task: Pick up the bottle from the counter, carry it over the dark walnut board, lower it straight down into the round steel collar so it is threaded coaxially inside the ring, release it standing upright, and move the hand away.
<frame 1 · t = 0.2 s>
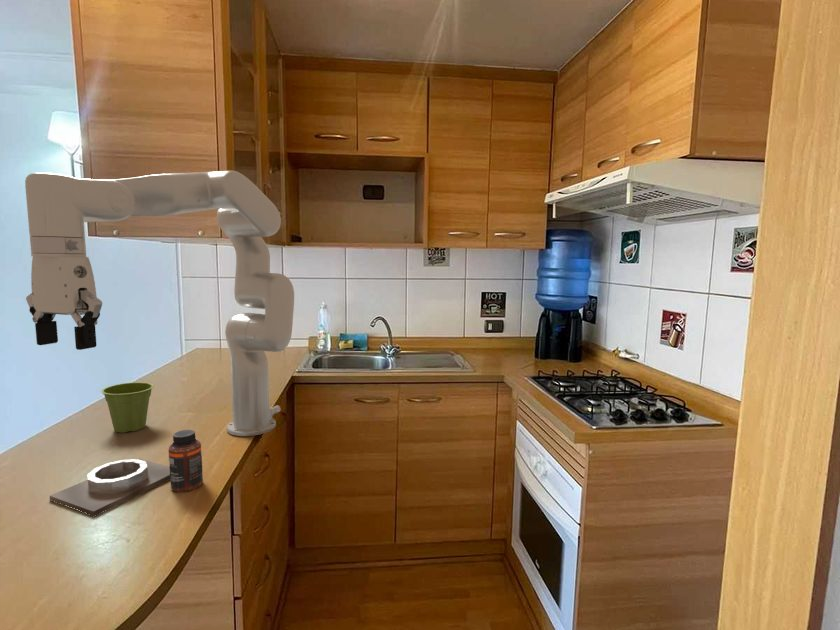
hand: (66, 346, 82), 31 cm above the countertop, tool pointing down, fingers open, 9 cm apart
plant pot: (130, 428, 125), on the countertop
supplement bottle: (187, 486, 95), on the countertop
holder board: (119, 486, 94), on the countertop
steel collar: (118, 476, 94), on the holder board, point 2 cm above the countertop
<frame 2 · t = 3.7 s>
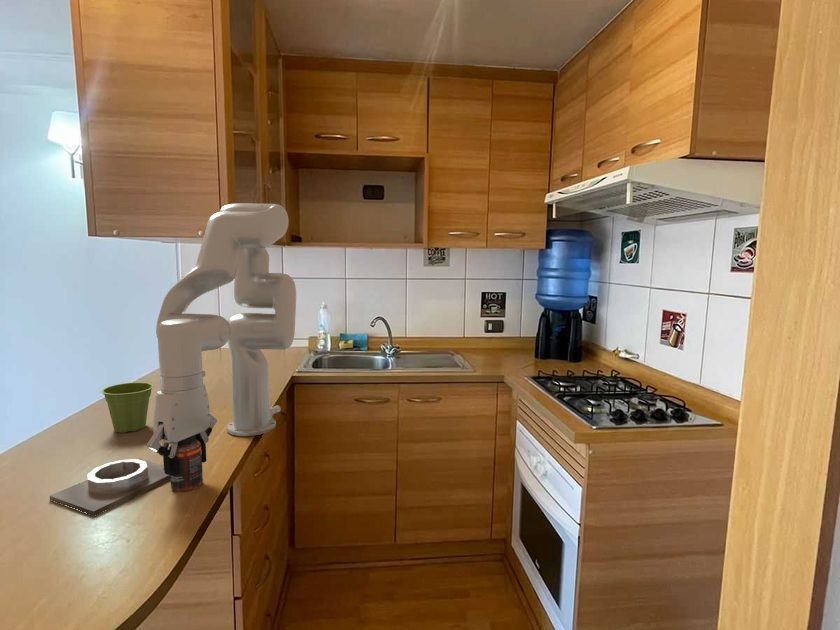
hand: (186, 466, 94), 4 cm above the countertop, tool pointing down, fingers closed on supplement bottle, 6 cm apart
supplement bottle: (187, 486, 95), on the countertop, touching gripper
everything else where it was.
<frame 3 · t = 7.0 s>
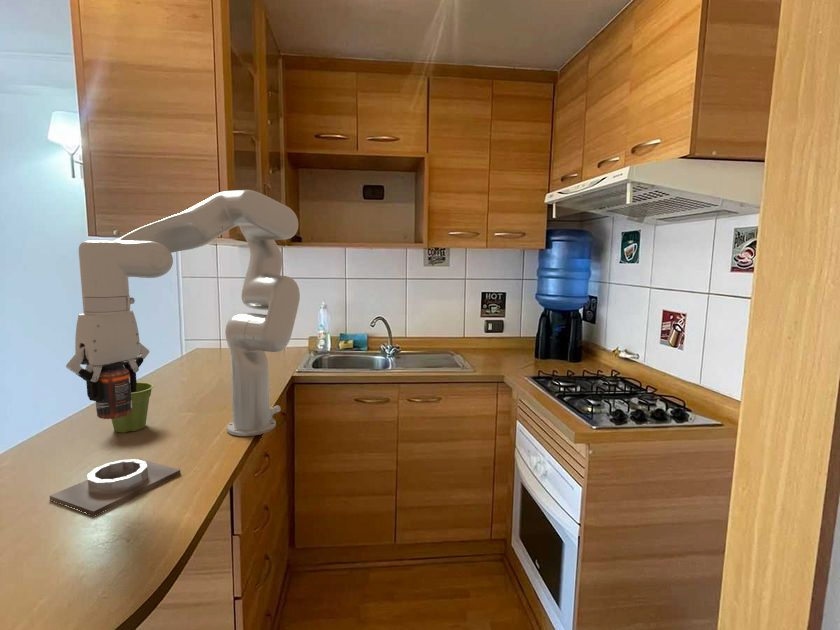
hand: (113, 395, 91), 19 cm above the countertop, tool pointing down, fingers closed on supplement bottle, 6 cm apart
supplement bottle: (115, 415, 92), point 15 cm above the countertop, touching gripper
everything else where it was.
when the fingers open (6 cm above the countertop, at t = 10.2 s): supplement bottle stays where it is, resting on holder board.
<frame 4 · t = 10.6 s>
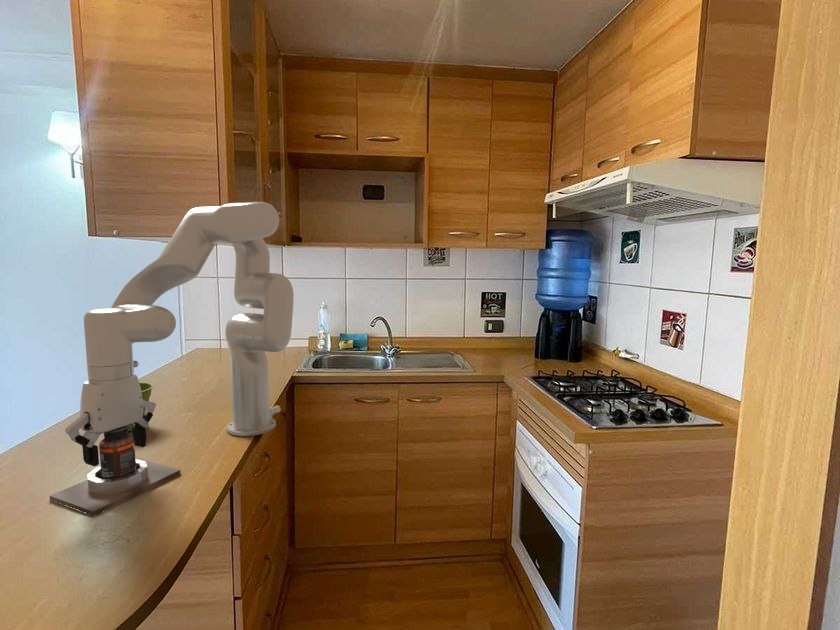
hand: (117, 454, 93), 7 cm above the countertop, tool pointing down, fingers open, 9 cm apart
supplement bottle: (119, 482, 94), point 1 cm above the countertop, touching holder board
everything else where it was.
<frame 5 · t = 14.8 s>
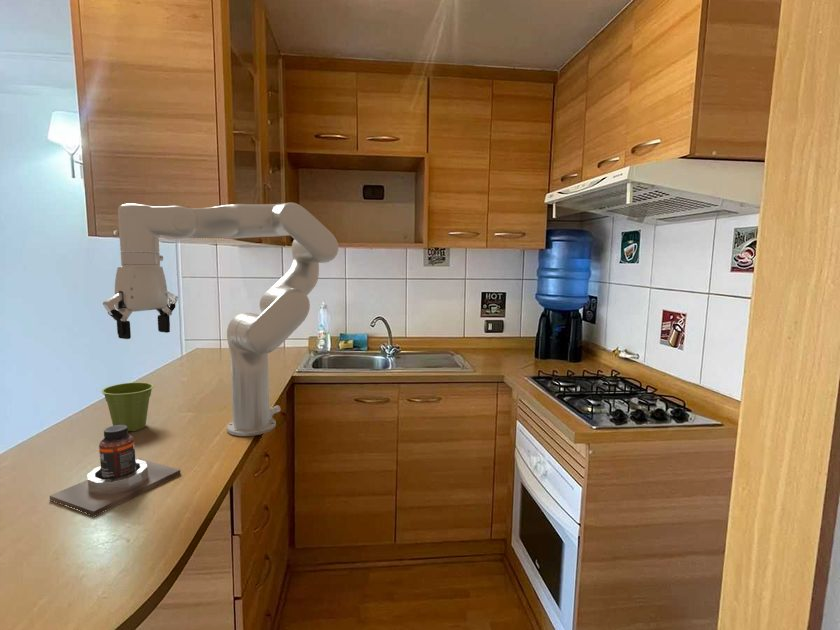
hand: (145, 335, 106), 28 cm above the countertop, tool pointing down, fingers open, 9 cm apart
nothing on the countertop moved.
at the end: supplement bottle 0.2 cm off-centre on the steel collar, point 0.8 cm above the steel collar's base; supplement bottle tilted 0°; the gripper is holding nothing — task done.
